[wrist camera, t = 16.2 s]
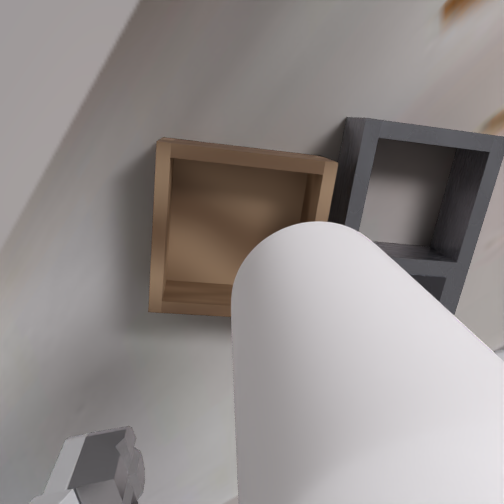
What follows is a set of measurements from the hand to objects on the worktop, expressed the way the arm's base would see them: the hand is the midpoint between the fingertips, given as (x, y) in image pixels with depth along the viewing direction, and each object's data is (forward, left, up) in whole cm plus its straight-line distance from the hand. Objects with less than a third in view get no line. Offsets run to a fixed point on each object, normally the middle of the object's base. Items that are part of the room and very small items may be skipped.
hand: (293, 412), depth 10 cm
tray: (+1, +11, -19) cm, 22 cm away
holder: (0, 0, -19) cm, 19 cm away
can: (0, +2, -7) cm, 7 cm away
